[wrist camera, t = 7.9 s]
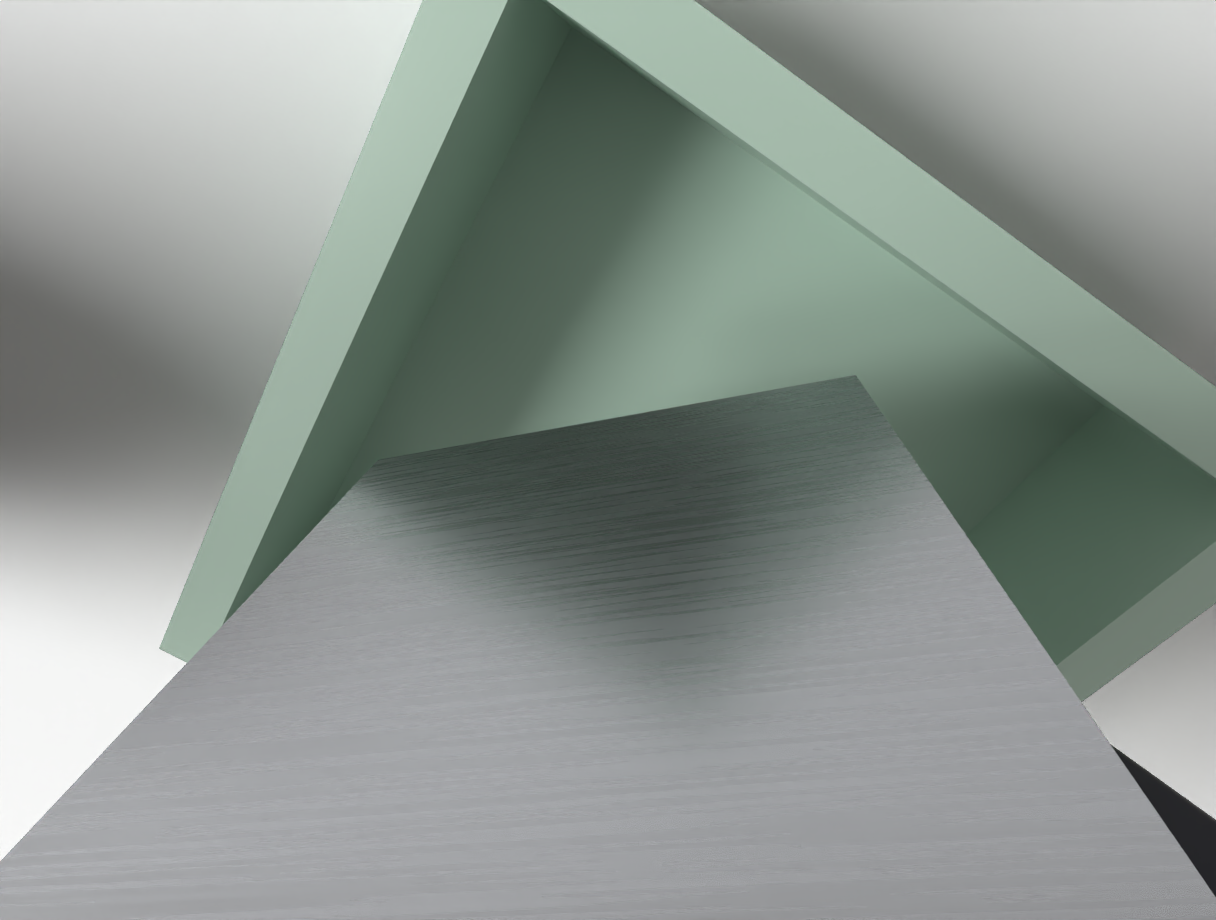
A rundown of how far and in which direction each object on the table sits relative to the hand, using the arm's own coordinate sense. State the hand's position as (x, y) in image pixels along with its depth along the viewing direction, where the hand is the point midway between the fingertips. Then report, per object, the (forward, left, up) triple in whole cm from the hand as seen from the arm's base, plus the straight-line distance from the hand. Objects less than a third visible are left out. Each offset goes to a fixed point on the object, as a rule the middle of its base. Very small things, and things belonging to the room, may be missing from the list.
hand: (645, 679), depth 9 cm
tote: (0, 0, -7) cm, 7 cm away
